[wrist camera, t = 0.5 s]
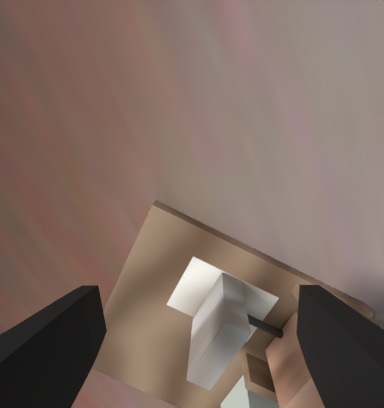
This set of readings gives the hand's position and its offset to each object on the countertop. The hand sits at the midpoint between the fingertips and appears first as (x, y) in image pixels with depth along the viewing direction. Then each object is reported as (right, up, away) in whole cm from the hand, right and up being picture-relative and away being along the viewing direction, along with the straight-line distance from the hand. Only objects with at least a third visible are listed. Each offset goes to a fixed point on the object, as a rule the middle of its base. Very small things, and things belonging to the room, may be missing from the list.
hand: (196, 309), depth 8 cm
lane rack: (+2, -8, +13) cm, 15 cm away
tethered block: (+6, -6, +10) cm, 13 cm away
